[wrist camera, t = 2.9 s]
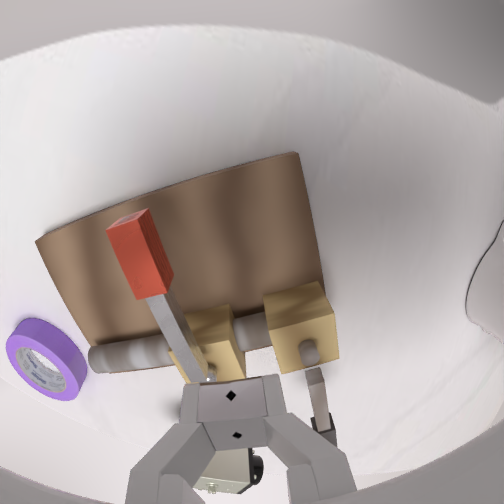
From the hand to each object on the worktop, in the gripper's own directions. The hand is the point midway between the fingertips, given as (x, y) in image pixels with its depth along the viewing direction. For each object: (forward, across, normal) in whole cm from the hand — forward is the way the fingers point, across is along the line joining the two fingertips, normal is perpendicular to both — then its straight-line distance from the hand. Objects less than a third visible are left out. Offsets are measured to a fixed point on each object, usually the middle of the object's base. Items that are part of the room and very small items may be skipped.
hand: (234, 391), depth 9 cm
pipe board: (+18, +5, +9) cm, 21 cm away
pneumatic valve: (+18, +7, +27) cm, 33 cm away
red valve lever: (+10, +4, +3) cm, 12 cm away
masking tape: (+19, +27, +13) cm, 35 cm away
